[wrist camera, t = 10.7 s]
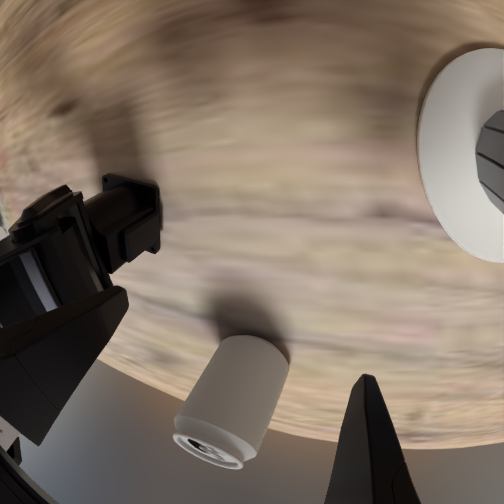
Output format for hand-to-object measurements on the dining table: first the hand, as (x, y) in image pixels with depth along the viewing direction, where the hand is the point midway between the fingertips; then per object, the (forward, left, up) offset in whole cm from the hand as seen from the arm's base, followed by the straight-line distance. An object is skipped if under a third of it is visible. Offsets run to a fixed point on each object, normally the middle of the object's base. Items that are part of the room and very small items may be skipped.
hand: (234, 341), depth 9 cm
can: (-1, -16, -12) cm, 20 cm away
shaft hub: (+12, +9, -12) cm, 19 cm away
